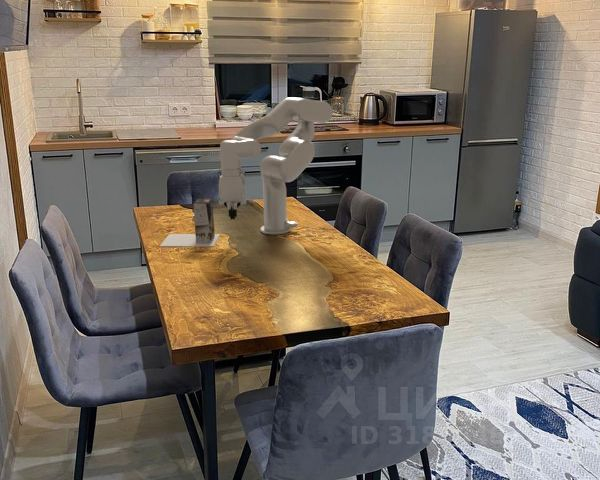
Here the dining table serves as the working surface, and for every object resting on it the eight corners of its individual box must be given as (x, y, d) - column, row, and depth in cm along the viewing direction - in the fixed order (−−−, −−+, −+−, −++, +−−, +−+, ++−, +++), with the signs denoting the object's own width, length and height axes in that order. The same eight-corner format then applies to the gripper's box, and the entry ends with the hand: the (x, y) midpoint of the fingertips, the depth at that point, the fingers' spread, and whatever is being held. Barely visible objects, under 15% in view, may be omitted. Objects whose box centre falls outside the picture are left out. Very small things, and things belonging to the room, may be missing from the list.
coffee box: (211, 243, 232) (209, 203, 228) (195, 243, 233) (192, 203, 228) (215, 236, 241) (213, 197, 236) (199, 236, 241) (197, 197, 236)
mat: (220, 234, 244) (220, 234, 244) (213, 246, 229) (213, 246, 229) (169, 234, 245) (169, 234, 245) (159, 246, 230) (159, 245, 230)
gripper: (251, 170, 232) (252, 216, 237) (213, 170, 232) (215, 216, 238) (249, 174, 225) (250, 221, 230) (210, 174, 225) (212, 221, 230)
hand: (233, 218), depth 234 cm, fingers closed
